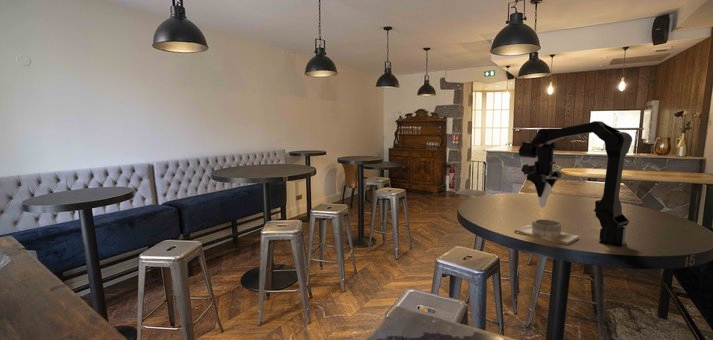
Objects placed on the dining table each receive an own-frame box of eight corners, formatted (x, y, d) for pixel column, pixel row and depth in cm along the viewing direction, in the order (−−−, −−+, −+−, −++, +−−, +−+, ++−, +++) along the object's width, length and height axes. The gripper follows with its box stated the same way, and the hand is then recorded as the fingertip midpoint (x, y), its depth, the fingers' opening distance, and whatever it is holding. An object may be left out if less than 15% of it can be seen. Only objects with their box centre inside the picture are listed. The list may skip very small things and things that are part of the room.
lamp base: (578, 238, 128) (579, 225, 127) (567, 244, 121) (568, 231, 120) (527, 227, 142) (528, 215, 142) (514, 232, 136) (515, 220, 135)
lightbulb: (543, 209, 139) (545, 183, 138) (530, 206, 145) (532, 181, 144) (553, 208, 142) (555, 182, 140) (541, 205, 147) (542, 180, 146)
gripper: (535, 156, 153) (533, 190, 155) (514, 159, 141) (513, 195, 143) (562, 158, 144) (560, 194, 146) (542, 161, 133) (540, 200, 135)
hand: (543, 195), depth 143 cm, fingers closed on lightbulb, 6 cm apart
